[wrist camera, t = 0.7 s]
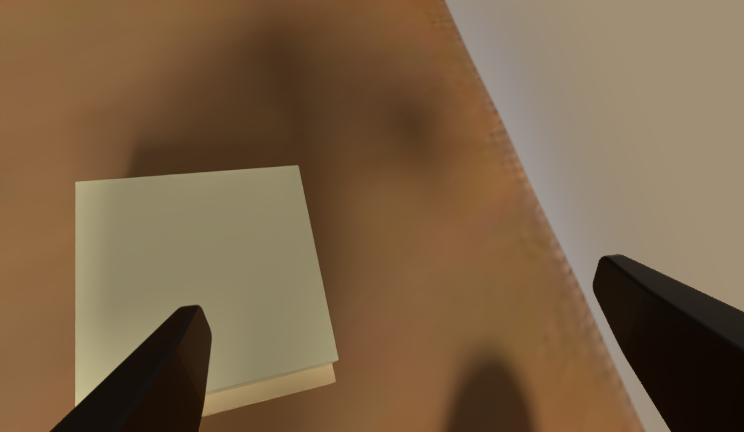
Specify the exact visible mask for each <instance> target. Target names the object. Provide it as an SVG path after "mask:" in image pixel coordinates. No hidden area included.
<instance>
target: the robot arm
mask: <svg viewBox="0 0 744 432" xmlns="http://www.w3.org/2000/svg"><path fill="white" fill-rule="evenodd" d="M593 291H594V294H595V296H596V298H597V301H598V303H599V305H600V307H601V309H602V311H603V313H604V315H605V317H606V319H607V322H608V324H609V325H610V328H611V330H612V332H613V334H614V336H615V338H616V340H617V342H618V344H619V346H620V348H621V350H622V352H623V354H624V355H625V357H626V359H627V361H628V362H629V364H630V366H631V367H632V369H633V370H634V372H635V374H636V375H637V377H638V379H639V380H640V382H641V384H642V385H643V387H644V388H645V390H646V392H647V393H648V395H649V397H650V398H651V400H652V402H653V403H654V405H655V406H656V408H657V410H658V411H659V413H660V415H661V416H662V418H663V419H664V421H665V422H666V424H667V426H668V428H669V429H670V431H671V432H744V312H743V311H741V310H739V309H736V308H734V307H732V306H730V305H728V304H726V303H724V302H721V301H719V300H717V299H715V298H713V297H711V296H709V295H707V294H705V293H702V292H700V291H698V290H696V289H694V288H692V287H690V286H688V285H685V284H683V283H681V282H679V281H677V280H675V279H673V278H671V277H668V276H666V275H664V274H662V273H660V272H658V271H656V270H653V269H651V268H649V267H647V266H645V265H643V264H641V263H638V262H636V261H634V260H632V259H630V258H628V257H626V256H624V255H620V254H616V255H608V256H603V257H601V259H600V260H599V263H598V267H597V270H596V273H595V277H594V281H593ZM211 344H212V333H211V329H210V326H209V324H208V321H207V319H206V316H205V314H204V311H203V309H202V307H201V306H200V305H188V306H182V307H179V308H178V309H177V310H176V311H175V312H174V313H173V314H172V315H170V316H169V317H168V318H167V319H166V320H165V321H164V322H163V323H162V324H161V325H160V326H159V327H158V328H157V329H156V330H155V331H154V332H153V333H152V334H151V335H150V336H149V337H148V338H147V339H146V340H144V341H143V342H142V343H141V344H140V345H139V346H138V347H137V348H136V349H135V350H134V351H133V352H132V353H131V354H130V355H129V356H128V357H127V358H126V359H125V360H124V361H123V362H122V363H121V364H120V365H118V366H117V367H116V368H115V369H114V370H113V371H112V372H111V373H110V374H109V375H108V376H107V377H106V378H105V379H104V380H103V381H102V382H101V383H100V384H99V385H98V386H97V387H96V388H95V389H94V390H92V391H91V392H90V393H89V394H88V395H87V396H86V397H85V398H84V399H83V400H82V401H81V402H80V403H79V404H78V405H77V406H76V407H75V408H74V409H73V410H72V411H71V412H70V413H69V414H68V415H66V416H65V417H64V418H63V419H62V420H61V421H60V422H59V423H58V424H57V425H56V426H55V427H54V428H53V429H52V430H51V431H50V432H198V430H199V426H200V422H201V418H202V413H203V408H204V402H205V395H206V386H207V378H208V369H209V361H210V353H211Z"/></svg>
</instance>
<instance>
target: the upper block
mask: <svg viewBox="0 0 744 432" xmlns="http://www.w3.org/2000/svg"><path fill="white" fill-rule="evenodd" d="M188 305H200V306H201V307H202V309H203V311H204V314H205V316H206V319H207V321H208V324H209V326H210V329H211V333H212V344H211V353H210V361H209V369H208V378H207V386H206V395H205V396H208V395H212V394H216V393H220V392H224V391H228V390H233V389H237V388H241V387H245V386H249V385H253V384H257V383H261V382H265V381H269V380H273V379H277V378H281V377H285V376H290V375H294V374H298V373H302V372H306V371H310V370H314V369H318V368H322V367H326V366H328V365H330V364H332V363H333V362H335V361H337V360H339V359H338V354H337V349H336V344H335V340H334V335H333V330H332V325H331V320H330V316H329V311H328V306H327V301H326V296H325V291H324V287H323V282H322V277H321V272H320V267H319V263H318V258H317V253H316V248H315V243H314V239H313V234H312V229H311V224H310V219H309V214H308V210H307V205H306V200H305V195H304V190H303V186H302V181H301V176H300V171H299V166H298V165H294V166H281V167H268V168H255V169H241V170H228V171H215V172H201V173H188V174H175V175H162V176H148V177H135V178H122V179H108V180H95V181H82V182H76V318H75V407H76V406H77V405H78V404H79V403H80V402H81V401H82V400H83V399H84V398H85V397H86V396H87V395H88V394H89V393H90V392H91V391H92V390H94V389H95V388H96V387H97V386H98V385H99V384H100V383H101V382H102V381H103V380H104V379H105V378H106V377H107V376H108V375H109V374H110V373H111V372H112V371H113V370H114V369H115V368H116V367H117V366H118V365H120V364H121V363H122V362H123V361H124V360H125V359H126V358H127V357H128V356H129V355H130V354H131V353H132V352H133V351H134V350H135V349H136V348H137V347H138V346H139V345H140V344H141V343H142V342H143V341H144V340H146V339H147V338H148V337H149V336H150V335H151V334H152V333H153V332H154V331H155V330H156V329H157V328H158V327H159V326H160V325H161V324H162V323H163V322H164V321H165V320H166V319H167V318H168V317H169V316H170V315H172V314H173V313H174V312H175V311H176V310H177V309H178V308H179V307H182V306H188Z"/></svg>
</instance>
